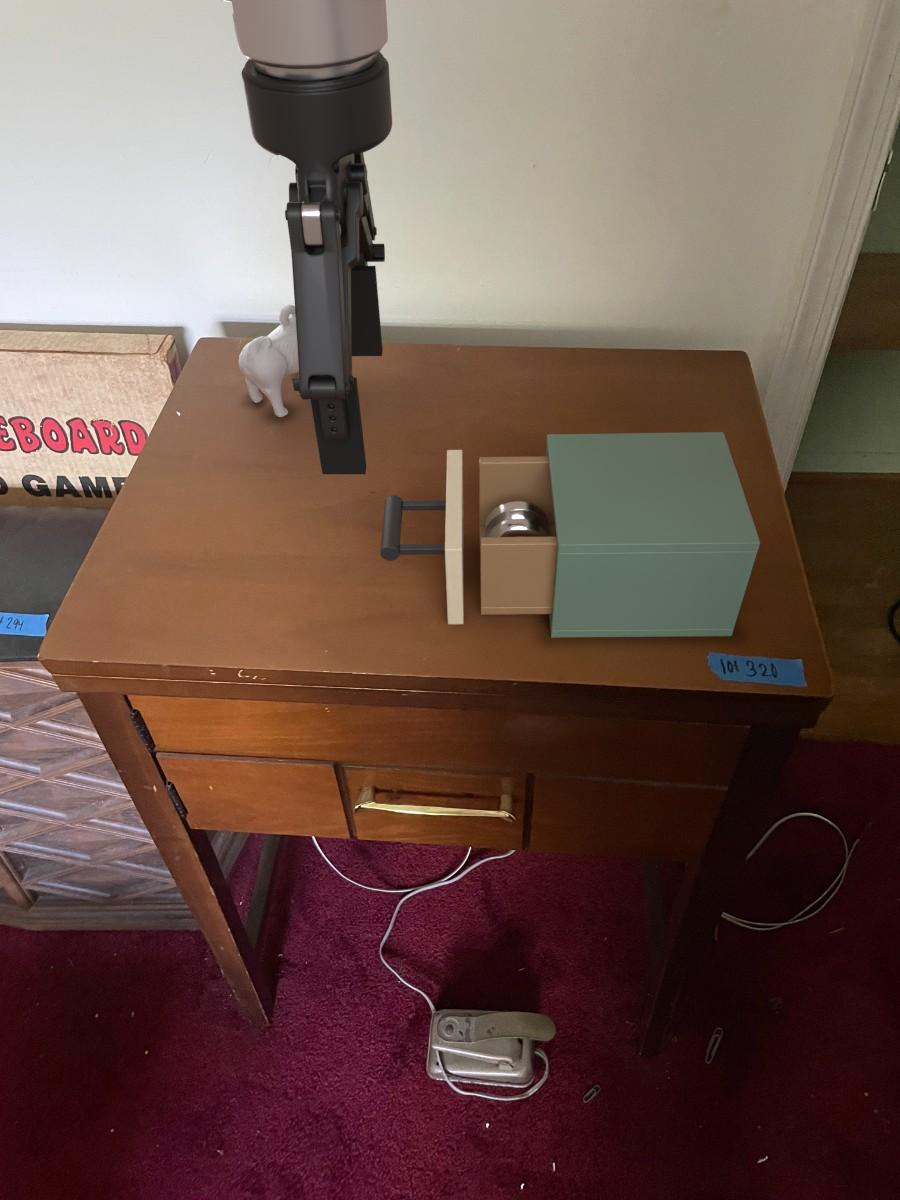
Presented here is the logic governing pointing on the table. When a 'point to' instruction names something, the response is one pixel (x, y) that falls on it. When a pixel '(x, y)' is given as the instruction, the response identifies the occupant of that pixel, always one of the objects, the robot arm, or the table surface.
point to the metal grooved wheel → (517, 521)
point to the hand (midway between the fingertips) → (355, 408)
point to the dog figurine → (271, 361)
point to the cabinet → (648, 535)
